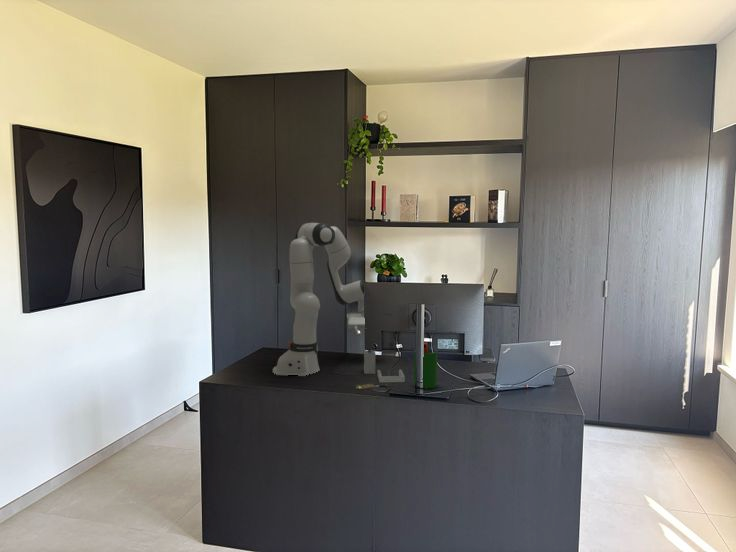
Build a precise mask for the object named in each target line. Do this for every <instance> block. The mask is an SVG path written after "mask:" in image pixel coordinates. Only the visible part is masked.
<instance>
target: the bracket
mask: <svg viewBox="0 0 736 552" xmlns="http://www.w3.org/2000/svg"><path fill="white" fill-rule="evenodd" d="M376 373H377V374H376V375H377V379H378V382H379V383H381V384H382V383H405V381H406V379H405V378H406V376H405V374H404V372H403V370H402V369H398V375H392V376H391V375H388V376H387V375H384V376H383V375H382V372H381V370H380V369H377V372H376Z"/></svg>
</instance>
